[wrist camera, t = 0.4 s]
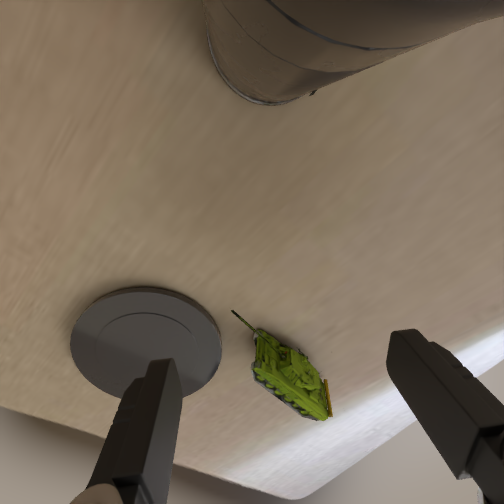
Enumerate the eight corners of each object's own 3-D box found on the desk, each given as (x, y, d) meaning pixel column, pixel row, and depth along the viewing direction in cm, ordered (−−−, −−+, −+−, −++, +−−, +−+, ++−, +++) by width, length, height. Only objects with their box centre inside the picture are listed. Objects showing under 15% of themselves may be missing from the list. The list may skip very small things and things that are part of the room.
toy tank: (301, 440, 32) (381, 415, 28) (181, 355, 25) (264, 307, 21) (297, 383, 38) (363, 357, 34) (199, 303, 31) (266, 257, 27)
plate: (51, 361, 31) (44, 370, 30) (119, 257, 26) (114, 263, 25) (174, 410, 36) (173, 420, 35) (249, 330, 32) (250, 338, 30)
